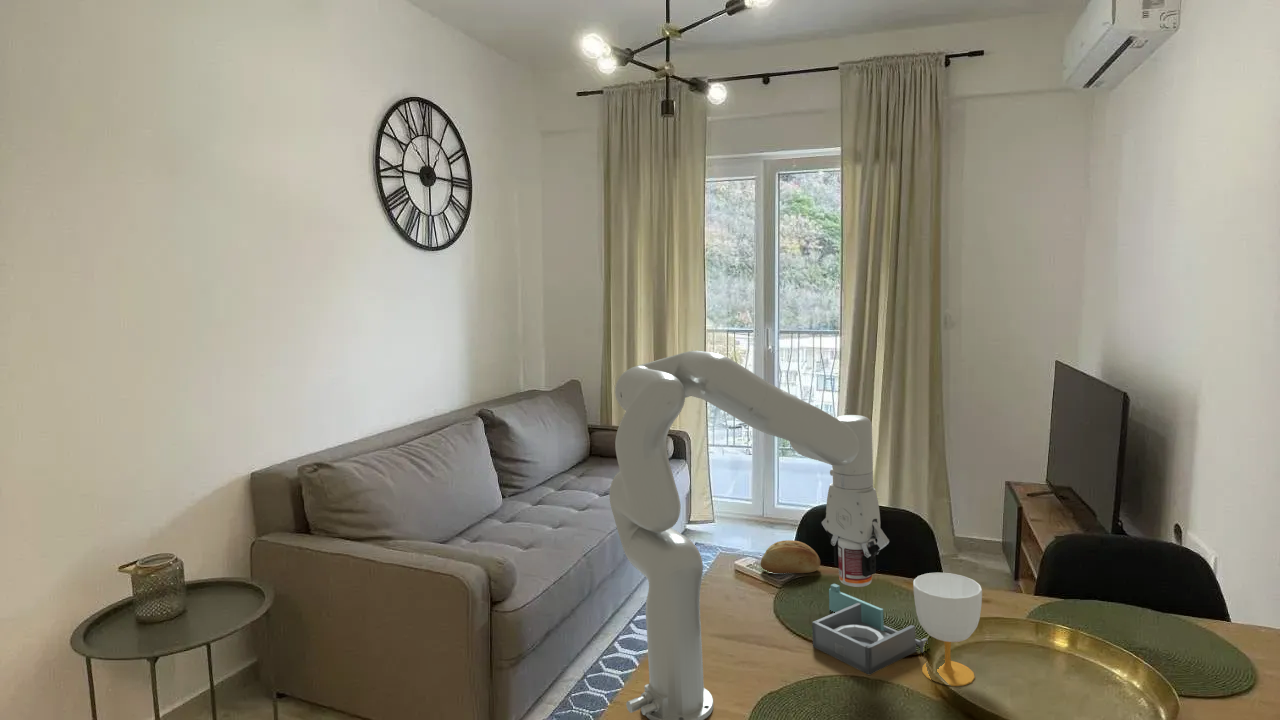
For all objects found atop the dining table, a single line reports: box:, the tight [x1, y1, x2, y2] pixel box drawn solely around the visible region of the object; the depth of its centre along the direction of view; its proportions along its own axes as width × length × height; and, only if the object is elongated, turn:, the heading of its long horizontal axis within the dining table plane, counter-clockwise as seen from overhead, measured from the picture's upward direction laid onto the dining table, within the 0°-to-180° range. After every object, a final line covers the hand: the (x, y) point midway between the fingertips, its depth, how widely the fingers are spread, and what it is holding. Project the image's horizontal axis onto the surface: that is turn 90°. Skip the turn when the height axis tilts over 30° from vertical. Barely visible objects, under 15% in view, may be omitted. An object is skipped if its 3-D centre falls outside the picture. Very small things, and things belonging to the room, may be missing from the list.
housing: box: [811, 603, 928, 676], centre depth 148 cm, size 17×16×5 cm
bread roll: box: [760, 539, 821, 574], centre depth 187 cm, size 10×15×8 cm, turn 87°
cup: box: [912, 572, 983, 687], centre depth 136 cm, size 12×12×17 cm
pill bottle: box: [838, 537, 873, 588], centre depth 144 cm, size 6×6×11 cm
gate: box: [828, 583, 885, 632], centre depth 159 cm, size 1×14×6 cm, turn 34°
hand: (854, 568), depth 145 cm, fingers closed on pill bottle, 6 cm apart
